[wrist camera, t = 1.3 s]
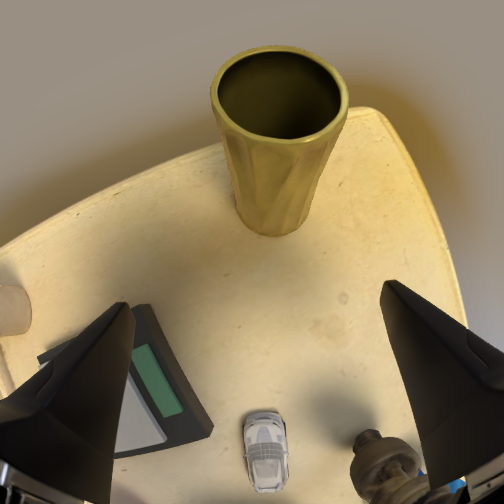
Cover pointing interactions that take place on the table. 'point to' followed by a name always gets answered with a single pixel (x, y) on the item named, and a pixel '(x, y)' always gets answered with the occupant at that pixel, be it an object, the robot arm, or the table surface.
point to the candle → (14, 311)
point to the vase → (277, 131)
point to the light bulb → (391, 472)
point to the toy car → (266, 451)
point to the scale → (153, 394)
